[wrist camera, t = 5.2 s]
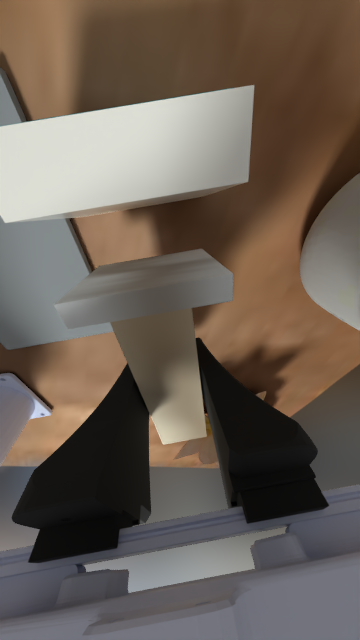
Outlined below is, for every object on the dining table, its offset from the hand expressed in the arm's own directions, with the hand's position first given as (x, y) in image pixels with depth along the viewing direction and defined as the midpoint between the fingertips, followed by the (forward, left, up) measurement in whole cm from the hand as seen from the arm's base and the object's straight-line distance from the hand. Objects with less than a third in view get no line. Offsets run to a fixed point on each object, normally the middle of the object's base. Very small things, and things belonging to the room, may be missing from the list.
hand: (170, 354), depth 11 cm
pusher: (0, 0, -2) cm, 2 cm away
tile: (0, +9, -6) cm, 11 cm away
